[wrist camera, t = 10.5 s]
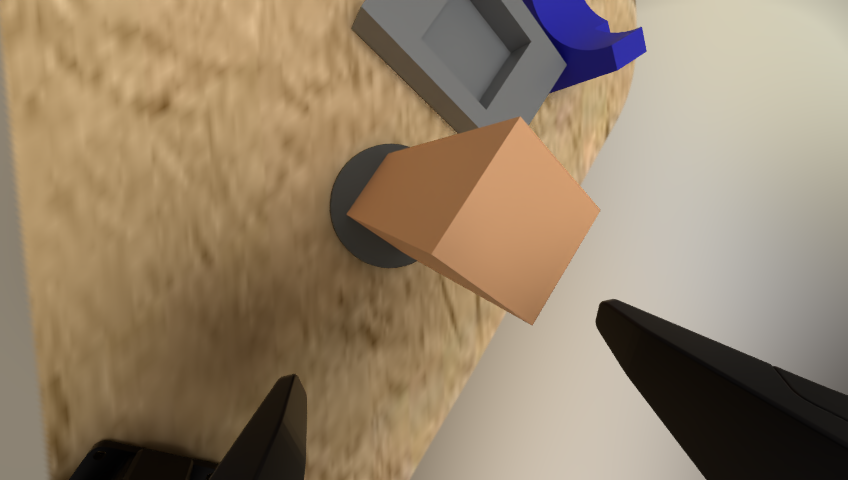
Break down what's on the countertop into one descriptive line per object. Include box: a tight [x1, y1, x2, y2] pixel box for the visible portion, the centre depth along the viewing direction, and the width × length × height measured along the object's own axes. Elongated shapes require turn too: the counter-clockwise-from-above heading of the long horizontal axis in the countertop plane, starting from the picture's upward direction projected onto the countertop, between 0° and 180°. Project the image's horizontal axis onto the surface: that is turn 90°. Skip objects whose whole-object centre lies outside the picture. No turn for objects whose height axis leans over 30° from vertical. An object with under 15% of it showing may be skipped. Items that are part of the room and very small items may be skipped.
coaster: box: [330, 144, 417, 268], centre depth 21 cm, size 8×8×1 cm
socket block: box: [352, 0, 567, 133], centre depth 20 cm, size 8×12×2 cm, turn 54°
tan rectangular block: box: [346, 116, 600, 325], centre depth 15 cm, size 5×5×12 cm
